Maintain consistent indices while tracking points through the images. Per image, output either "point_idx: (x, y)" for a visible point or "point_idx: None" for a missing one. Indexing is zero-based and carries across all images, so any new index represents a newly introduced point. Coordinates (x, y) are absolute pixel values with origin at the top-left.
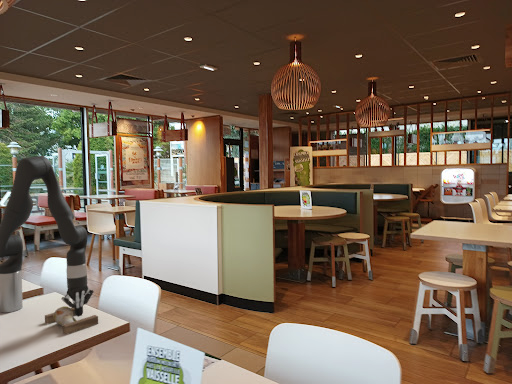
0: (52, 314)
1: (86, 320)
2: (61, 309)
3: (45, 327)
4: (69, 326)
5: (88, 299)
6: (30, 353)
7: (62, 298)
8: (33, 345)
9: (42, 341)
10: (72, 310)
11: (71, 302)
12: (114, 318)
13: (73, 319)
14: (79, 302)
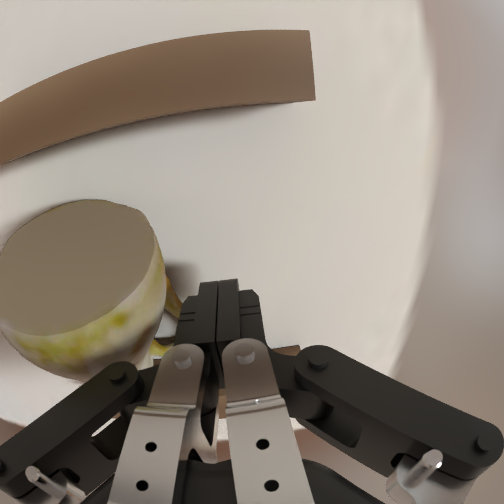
0: (12, 132)
1: (224, 416)
2: (31, 361)
3: (7, 214)
4: (118, 415)
5: (356, 429)
6: (15, 401)
7: (2, 483)
8: (4, 368)
9: (23, 366)
10: (224, 104)
11: (115, 470)
12: (393, 353)
13: (166, 307)
14: (250, 388)
